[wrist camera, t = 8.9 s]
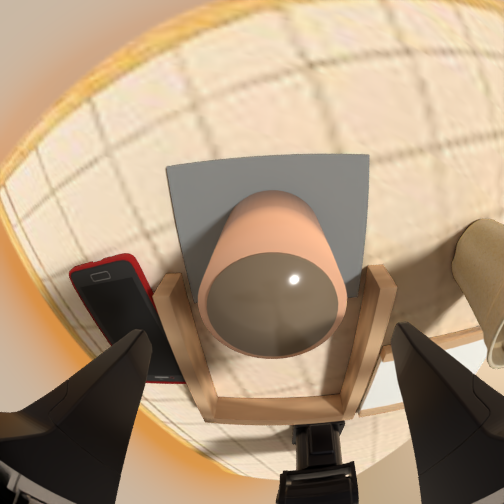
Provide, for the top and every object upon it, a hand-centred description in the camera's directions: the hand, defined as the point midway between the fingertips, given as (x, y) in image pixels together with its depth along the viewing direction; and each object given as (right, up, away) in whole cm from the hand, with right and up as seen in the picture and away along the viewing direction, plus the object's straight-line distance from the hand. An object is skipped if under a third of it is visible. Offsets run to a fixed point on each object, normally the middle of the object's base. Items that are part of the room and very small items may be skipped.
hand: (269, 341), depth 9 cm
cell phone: (-11, -4, +14) cm, 18 cm away
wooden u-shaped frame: (+2, -6, +13) cm, 15 cm away
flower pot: (+18, +3, +8) cm, 20 cm away
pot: (+1, +4, +8) cm, 9 cm away
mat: (+1, +4, +8) cm, 9 cm away
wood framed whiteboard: (+20, -10, +14) cm, 27 cm away
